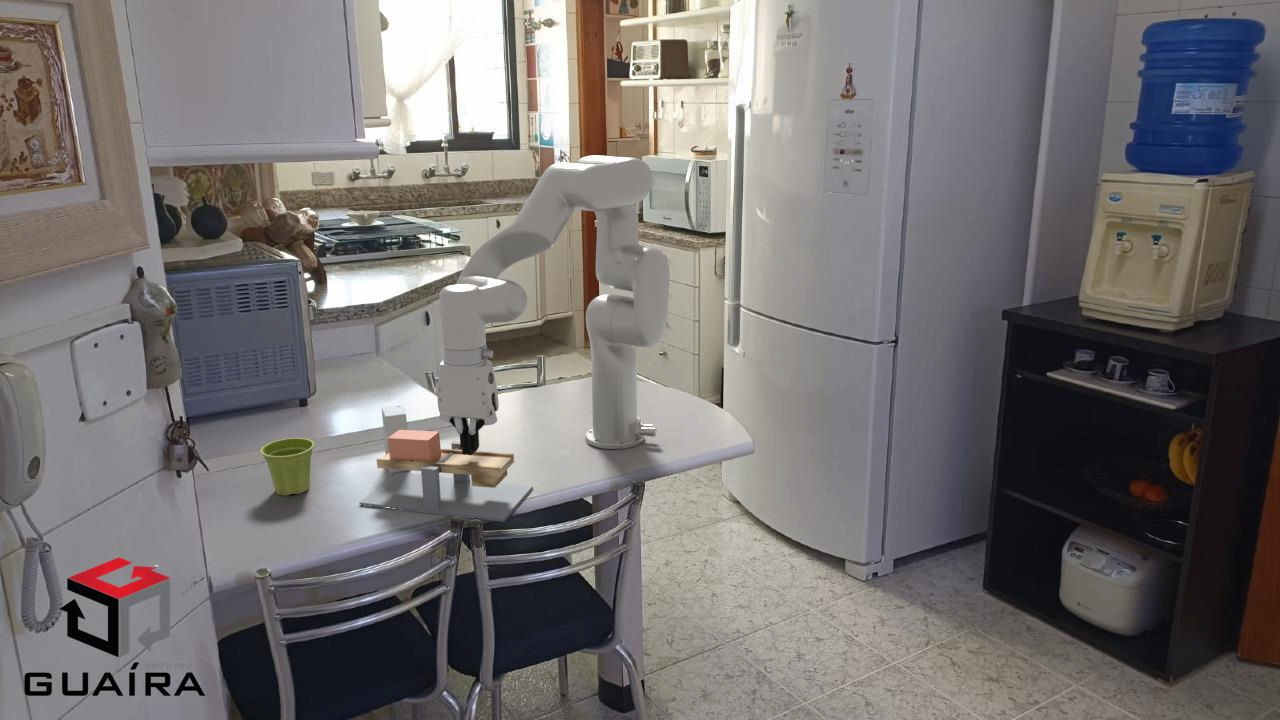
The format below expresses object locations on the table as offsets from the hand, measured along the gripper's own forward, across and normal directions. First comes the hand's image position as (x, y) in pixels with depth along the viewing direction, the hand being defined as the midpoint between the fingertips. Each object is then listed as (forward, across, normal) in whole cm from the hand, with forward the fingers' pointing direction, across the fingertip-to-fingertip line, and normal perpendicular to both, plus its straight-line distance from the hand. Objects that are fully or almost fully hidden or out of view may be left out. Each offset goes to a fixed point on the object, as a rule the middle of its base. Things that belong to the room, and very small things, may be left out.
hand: (470, 452), depth 170 cm
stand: (+9, +5, 0) cm, 11 cm away
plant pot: (+10, +35, +4) cm, 37 cm away
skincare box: (+10, +21, -11) cm, 26 cm away
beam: (+5, +5, 0) cm, 7 cm away
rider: (+2, +11, 0) cm, 11 cm away
